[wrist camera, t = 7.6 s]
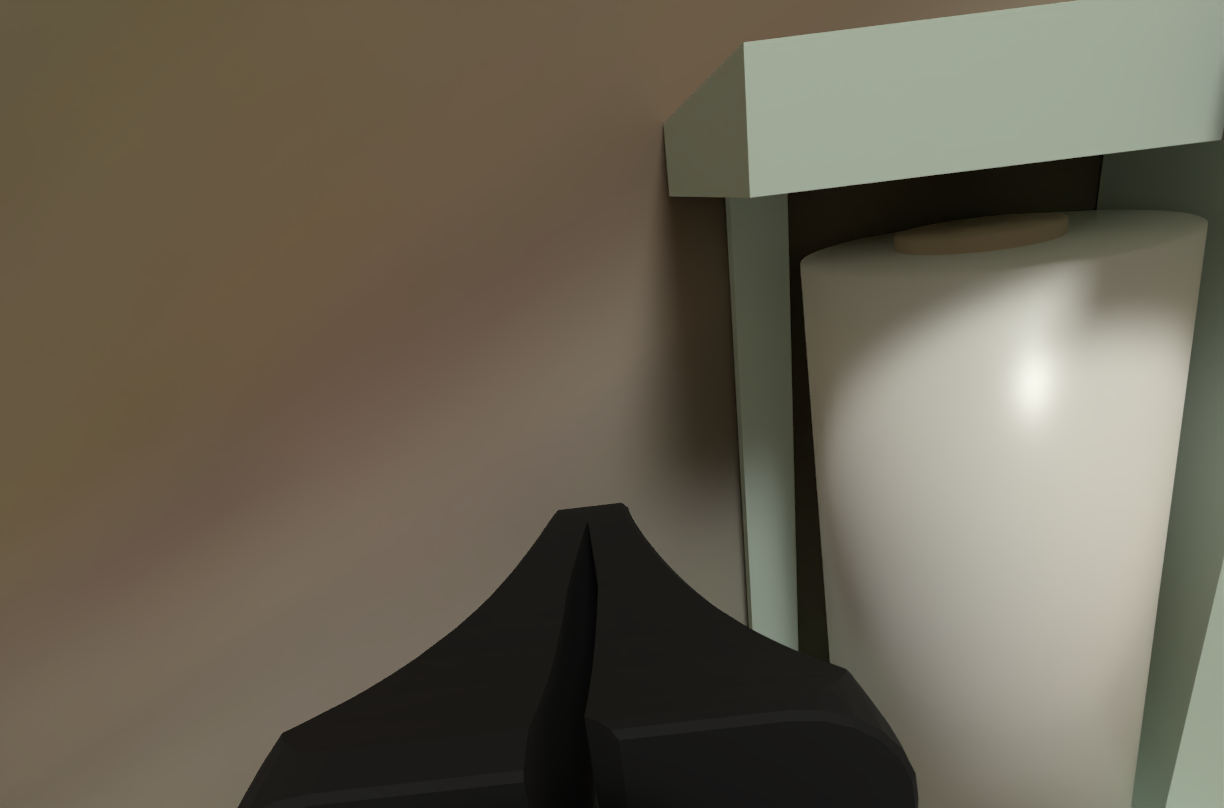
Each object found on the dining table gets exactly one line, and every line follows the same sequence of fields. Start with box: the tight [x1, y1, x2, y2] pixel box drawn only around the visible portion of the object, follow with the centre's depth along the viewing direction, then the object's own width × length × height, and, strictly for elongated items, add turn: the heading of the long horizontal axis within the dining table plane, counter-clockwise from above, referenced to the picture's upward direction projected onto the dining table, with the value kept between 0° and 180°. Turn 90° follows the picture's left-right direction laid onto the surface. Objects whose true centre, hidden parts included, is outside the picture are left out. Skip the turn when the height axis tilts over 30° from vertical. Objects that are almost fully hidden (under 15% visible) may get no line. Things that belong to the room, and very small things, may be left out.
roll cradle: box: [663, 0, 1224, 808], centre depth 10 cm, size 15×9×7 cm, turn 7°
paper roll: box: [800, 210, 1208, 808], centre depth 11 cm, size 10×5×5 cm
